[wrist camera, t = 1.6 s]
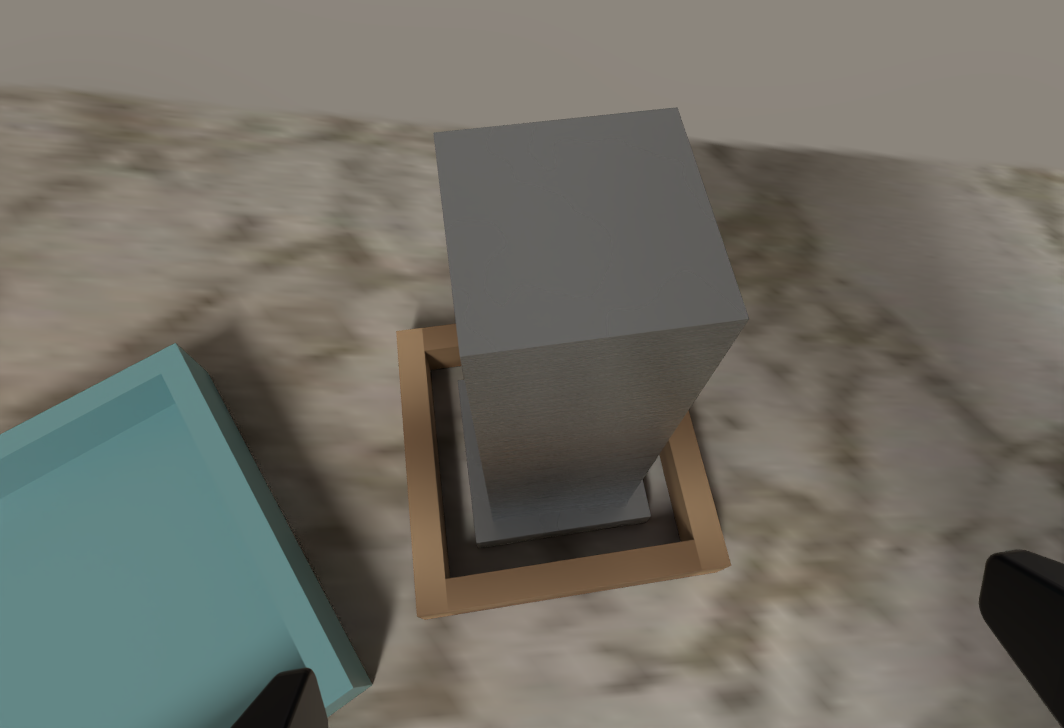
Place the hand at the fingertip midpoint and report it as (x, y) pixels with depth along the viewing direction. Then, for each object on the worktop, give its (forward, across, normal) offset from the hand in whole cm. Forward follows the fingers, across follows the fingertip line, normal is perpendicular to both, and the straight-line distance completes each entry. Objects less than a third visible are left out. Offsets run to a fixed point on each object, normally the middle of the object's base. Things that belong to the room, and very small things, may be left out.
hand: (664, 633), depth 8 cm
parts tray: (+11, +15, +7) cm, 19 cm away
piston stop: (+13, 0, +4) cm, 14 cm away
